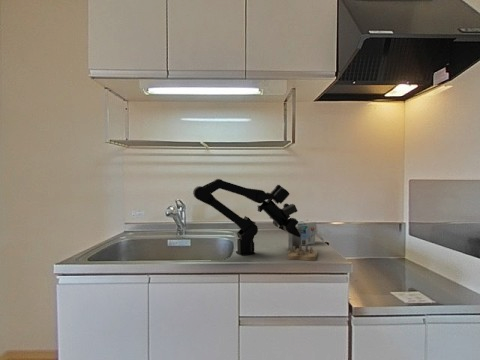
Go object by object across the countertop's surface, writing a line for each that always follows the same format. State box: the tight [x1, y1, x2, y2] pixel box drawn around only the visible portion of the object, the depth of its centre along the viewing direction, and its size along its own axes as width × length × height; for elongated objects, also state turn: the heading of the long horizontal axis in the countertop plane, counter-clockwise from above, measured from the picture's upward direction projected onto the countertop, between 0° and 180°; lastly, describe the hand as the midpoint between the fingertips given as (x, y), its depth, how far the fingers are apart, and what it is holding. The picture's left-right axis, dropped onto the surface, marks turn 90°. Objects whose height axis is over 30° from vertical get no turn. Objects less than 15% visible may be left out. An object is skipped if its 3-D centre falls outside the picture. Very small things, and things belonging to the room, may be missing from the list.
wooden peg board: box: [286, 244, 318, 261], centre depth 152 cm, size 11×12×4 cm
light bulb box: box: [296, 219, 316, 246], centre depth 179 cm, size 11×7×11 cm, turn 115°
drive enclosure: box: [287, 227, 301, 251], centre depth 164 cm, size 4×5×10 cm
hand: (297, 235), depth 164 cm, fingers closed on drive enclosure, 5 cm apart
